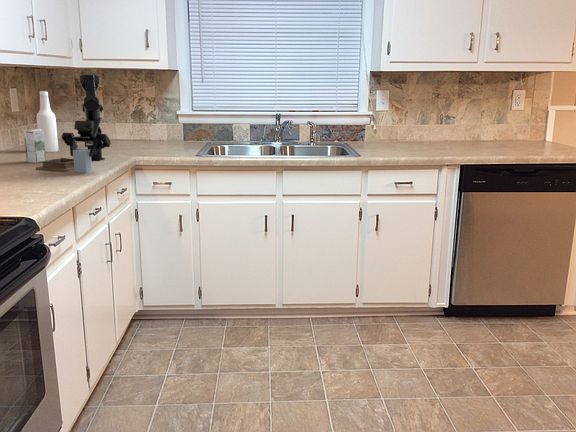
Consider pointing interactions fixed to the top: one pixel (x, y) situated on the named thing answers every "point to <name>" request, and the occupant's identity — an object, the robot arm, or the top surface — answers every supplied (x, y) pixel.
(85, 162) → the block
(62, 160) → the cradle
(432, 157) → the top surface
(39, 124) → the alcohol
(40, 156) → the syrup box
